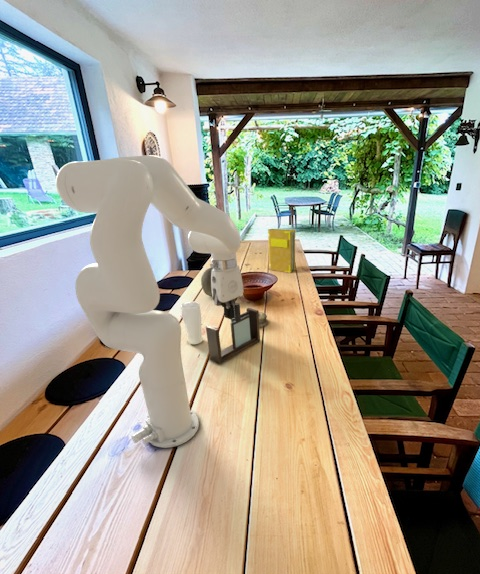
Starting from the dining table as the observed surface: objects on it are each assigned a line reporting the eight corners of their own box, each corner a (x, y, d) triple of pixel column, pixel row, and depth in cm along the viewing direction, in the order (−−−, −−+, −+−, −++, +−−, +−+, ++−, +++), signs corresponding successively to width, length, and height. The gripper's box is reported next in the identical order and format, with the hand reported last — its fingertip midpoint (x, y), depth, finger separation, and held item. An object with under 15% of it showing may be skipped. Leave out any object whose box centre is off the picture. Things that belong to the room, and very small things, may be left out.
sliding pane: (235, 350, 112) (231, 307, 105) (231, 348, 113) (227, 306, 106) (252, 341, 117) (249, 300, 111) (248, 339, 119) (245, 298, 112)
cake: (271, 321, 137) (272, 309, 135) (260, 331, 129) (260, 319, 127) (251, 315, 141) (251, 304, 138) (239, 325, 133) (239, 313, 131)
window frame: (219, 364, 106) (215, 330, 101) (209, 359, 109) (205, 326, 104) (260, 341, 120) (258, 310, 115) (250, 337, 123) (248, 307, 118)
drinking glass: (200, 346, 118) (195, 308, 112) (183, 345, 119) (177, 308, 113) (207, 338, 124) (202, 301, 118) (190, 336, 125) (185, 301, 119)
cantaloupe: (218, 302, 158) (215, 273, 152) (197, 298, 165) (193, 269, 159) (235, 293, 169) (233, 265, 163) (215, 290, 176) (212, 263, 170)
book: (295, 270, 205) (295, 229, 195) (290, 272, 200) (290, 231, 190) (272, 267, 214) (271, 228, 203) (267, 269, 209) (265, 230, 198)
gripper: (213, 271, 92) (220, 328, 100) (250, 260, 102) (253, 313, 110) (197, 267, 97) (205, 322, 104) (233, 257, 107) (238, 308, 114)
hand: (229, 317), depth 107 cm, fingers closed
